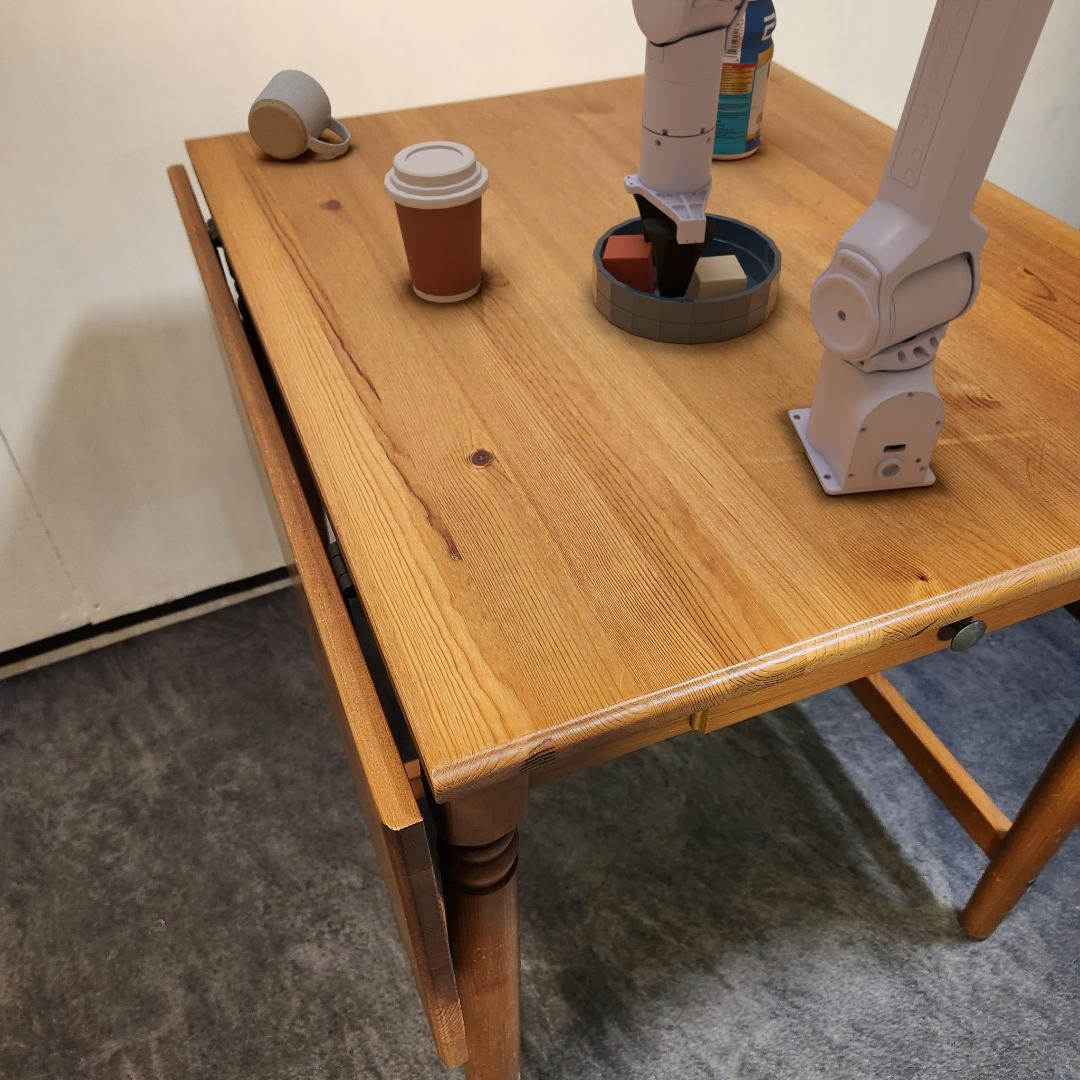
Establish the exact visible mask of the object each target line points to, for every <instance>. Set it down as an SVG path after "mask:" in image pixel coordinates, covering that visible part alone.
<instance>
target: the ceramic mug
mask: <svg viewBox="0 0 1080 1080" xmlns="http://www.w3.org/2000/svg"><path fill="white" fill-rule="evenodd" d="M247 125H248V131H249V134H250V136H251V138H252V140H253V141H254V143H255V144H256V145H257V146H258V148H260V150H262V152H264V153H265V154H266V155H268V156H271V157H273V158H276V159H278V160H291V159H294V158H297V157H299V156H301V155H303V153H305V152H306V151H307V150H308V149H309V150H310V151H312V152H314V153H316V154H319V155H323V156H326V157H338V156H342V155H344V154H345V153H347V151H348V150H349V146H350V144H351V140H352V139H351V138H352V136H351V133H350V131H349V130H348V128H347V127H346V126H345V124H343V123H342V122H341V121H339V120H338V119H337V118H335V117H333V115H332V104H331V102H330V98H329V96H328V94H327V92H326V91H325V89H324V87H323V86H322V84H321V83H319V82H318V81H317V80H316V79H315V78H314V77H313V76H311V75H309V74H307V73H306V72H303V71H302V70H298V69H283V70H281V71H279V72H277V73H276V74H275V75H274V76H273V77H272V78H271V79H270V80H269V81H268V82H267V84H266V86H265V87H264V88H263V90H261V92H260V93H259V95H258V96H257V97H256V98H255V100H254V101H253V103H251V107H250V109H249V112H248V116H247ZM327 129H328V130H330V131H332V132H333V133H335V134H336V135H337V136H338V137H339V138H340V139H341V140H342V141H343V142H341V143H336V144H332V143H329V142H325V141H322V140H319V139H318V138H319V137H320V136H321V135H322V134H323V133H324V132H325V131H326V130H327Z"/></svg>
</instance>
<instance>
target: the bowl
mask: <svg viewBox="0 0 1080 1080" xmlns="http://www.w3.org/2000/svg"><path fill="white" fill-rule="evenodd" d="M705 217H706V219H713V220H714V222H715V224H716V226H717V231H716V235H715V238H714V239H713V240H712V241H711V242H710V243H709V245H708V246H707V247H706V249H705V250H704V252H703V253H702V255H701V257H700V258H704V257H716V256H728V255H735V257H736V258H737V260H738V262H739V264H740V266H741V268H742V270H743V271H744V273H745V275H746V277H747V282H746V289H745V291H743V292H740V293H736V294H733V295H729V296H725V297H721V298H709V299H697V300H689V299H686V293H685V295H684V297H680V298H664V297H661V296H660V294H659V291H658V286H657V277H655V281H654V285H653V290H652V294H649V293H645V292H641V291H637V290H635V289H633V288H631V287H629V286H627V285H625V284H623V283H621V282H619V281H617V280H616V279H615V278H614V277H613V276H612V275H611V274H610V273H609V272H608V271H607V270H606V269H605V268H604V267H603V255H604V252H605V249H606V246H607V242H608V239H609V236H618V235H643V228H642V222H641V217H640V216H636V217H631V218H628V219H626V220H624V221H622V222H620V223H618V224H615V225H613V226H612V227H609V228H608V229H607V230H606V231H605V232H604V233H603V234H602V235H601V236H600V237H599V238H598V239H597V240H596V243H595V246H594V248H593V252H592V264H591V265H592V266H591V267H592V269H591V270H592V272H591V276H592V277H591V295H592V298H593V301H594V304H595V307H596V309H597V310H598V312H599V313H600V314H601V315H602V316H603V317H604V318H605V319H606V320H607V321H608V322H609V323H611V324H612V325H614V326H616V327H618V328H620V329H621V330H624V331H625V332H627V333H629V334H631V335H635V336H638V337H641V338H644V339H649V340H652V341H656V342H662V343H672V344H673V343H674V344H684V345H694V344H695V345H696V344H706V343H716V342H717V343H719V342H723V341H726V340H730V339H734V338H737V337H741V336H744V335H747V334H748V333H749V332H751V331H752V330H755V329H756V328H757V327H759V326H760V325H763V324H764V323H765V322H766V320H767V319H768V318H769V316H771V313H772V312H773V311H774V310H775V306H776V301H777V296H778V295H777V294H778V289H779V283H780V277H781V273H782V272H781V271H782V258H783V255H782V252H781V251H780V249H779V246H777V243H775V241H774V240H773V238H771V237H770V236H769V235H768V234H766V233H764V232H763V231H762V230H761V229H759V228H757V227H756V226H754V225H751V224H749V223H747V222H744V221H741V220H739V219H737V218H733V217H729V216H724V215H720V214H715V213H712V212H705ZM686 292H687V291H686Z"/></svg>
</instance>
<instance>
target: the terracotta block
mask: <svg viewBox="0 0 1080 1080" xmlns="http://www.w3.org/2000/svg"><path fill="white" fill-rule="evenodd" d="M603 267H604V268H605V269H606V270H607V271H608V272H609V273H610V274H611V275H612V276H613V277H614V278H615V279H616V280H617V281H619V282H621V283H623V284H625V285H627V286H629V287H631V288H633V289H635V290H637V291H641V292H645V293H649V294H652V290H653V285H654V281H655V277H656V266H653V250H652V242H648V243H645V240H644V236H643V235H618V236H609V239H608V242H607V246H606V249H605V252H604V255H603Z"/></svg>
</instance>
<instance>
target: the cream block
mask: <svg viewBox="0 0 1080 1080" xmlns="http://www.w3.org/2000/svg"><path fill="white" fill-rule="evenodd" d="M746 282H747V277H746V275H745V273H744V271H743V270H742V268H741V266H740V264H739V262H738V260H737V258H736V257H735V255H728V256H716V257H704V258H699V260H698V262H697V265H696V267H695V269H694V272H693V275H692V278H691V280H690V283H689V286H688V288H687V292H686V299H689V300H697V299H709V298H721V297H725V296H729V295H733V294H736V293H740V292H743V291H745V289H746Z"/></svg>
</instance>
